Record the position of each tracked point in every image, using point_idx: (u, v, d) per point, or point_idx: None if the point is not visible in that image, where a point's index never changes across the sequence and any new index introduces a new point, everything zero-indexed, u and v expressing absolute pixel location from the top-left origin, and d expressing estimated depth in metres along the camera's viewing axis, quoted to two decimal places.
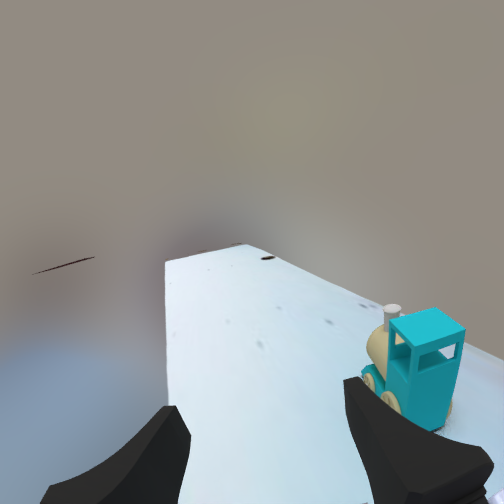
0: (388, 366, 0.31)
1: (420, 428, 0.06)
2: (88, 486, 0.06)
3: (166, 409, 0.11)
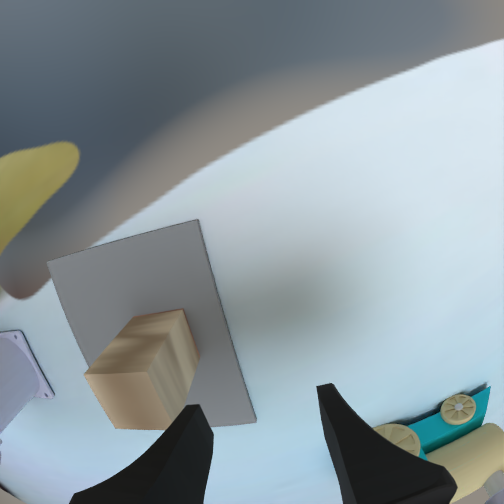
0: None
1: (385, 441, 0.06)
2: (117, 493, 0.05)
3: (190, 408, 0.11)
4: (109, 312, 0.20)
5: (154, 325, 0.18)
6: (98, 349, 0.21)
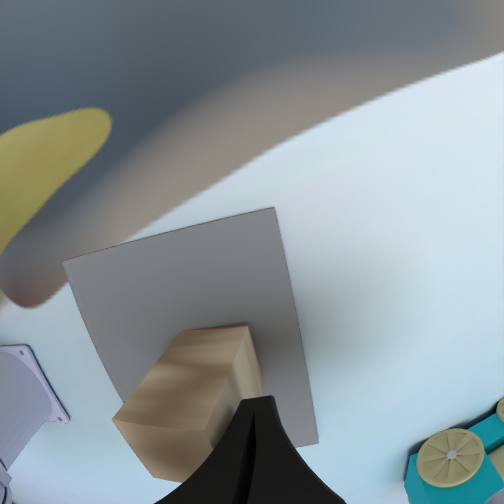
0: (501, 486, 0.10)
1: (299, 462, 0.07)
2: (197, 502, 0.05)
3: (248, 402, 0.11)
4: (148, 326, 0.16)
5: (210, 349, 0.14)
6: (130, 370, 0.17)
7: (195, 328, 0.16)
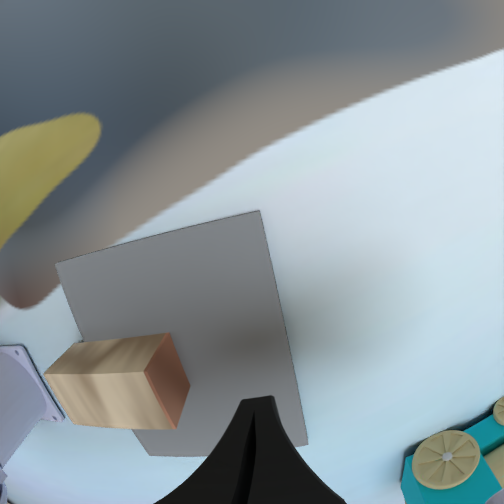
0: (496, 489, 0.10)
1: (299, 461, 0.07)
2: (196, 502, 0.05)
3: (248, 402, 0.11)
4: (137, 327, 0.17)
5: (120, 358, 0.14)
6: None
7: (183, 330, 0.16)
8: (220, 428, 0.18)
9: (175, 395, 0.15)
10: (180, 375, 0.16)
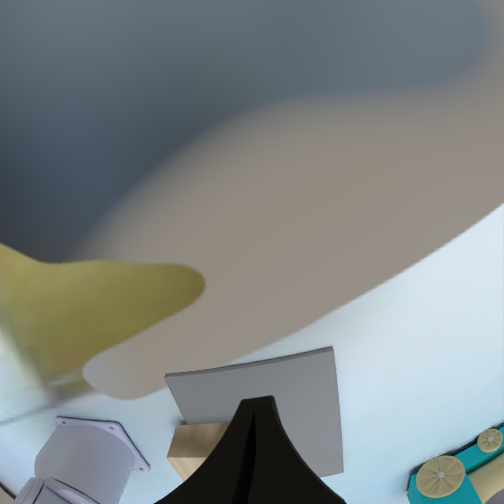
0: (475, 498, 0.16)
1: (299, 462, 0.07)
2: (196, 501, 0.05)
3: (248, 402, 0.11)
4: None
5: None
6: None
7: None
8: None
9: None
10: None
